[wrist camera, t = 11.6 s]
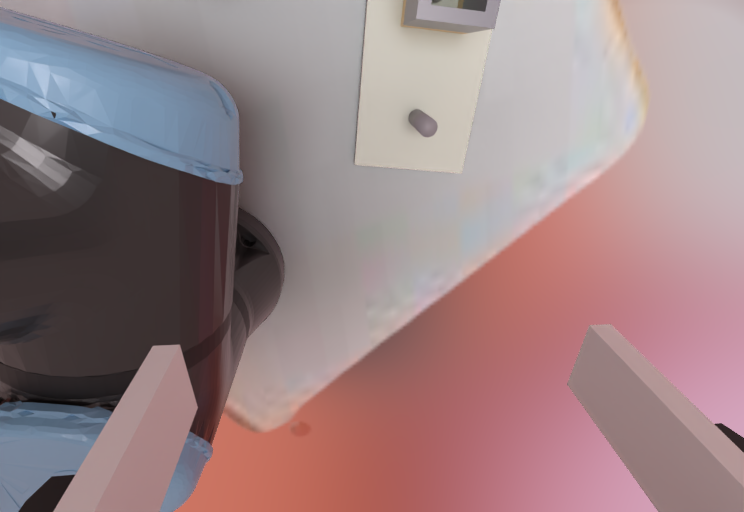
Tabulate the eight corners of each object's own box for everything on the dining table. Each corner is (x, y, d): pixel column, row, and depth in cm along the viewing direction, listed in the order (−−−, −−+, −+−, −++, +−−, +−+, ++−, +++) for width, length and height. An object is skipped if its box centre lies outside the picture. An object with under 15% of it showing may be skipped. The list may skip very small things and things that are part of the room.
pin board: (354, 162, 35) (356, 181, 30) (374, -93, 26) (382, -130, 21) (458, 170, 36) (478, 190, 31) (509, -72, 28) (549, -102, 22)
